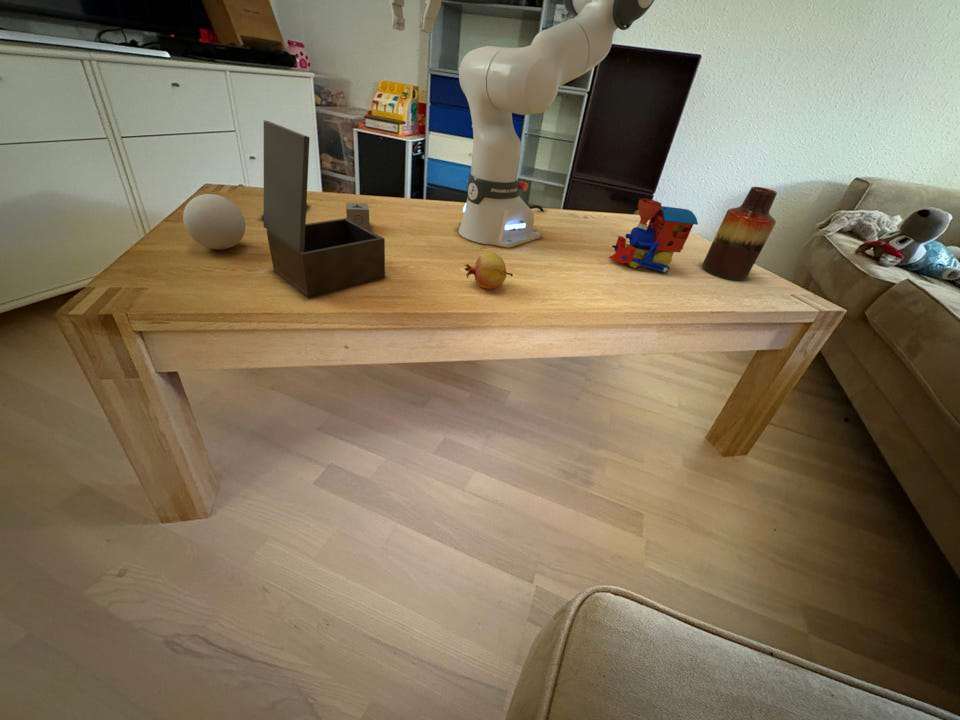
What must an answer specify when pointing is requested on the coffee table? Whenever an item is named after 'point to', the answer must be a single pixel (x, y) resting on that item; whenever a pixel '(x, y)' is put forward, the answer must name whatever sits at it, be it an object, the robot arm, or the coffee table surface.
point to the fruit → (488, 270)
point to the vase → (741, 236)
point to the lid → (285, 183)
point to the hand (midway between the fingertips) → (411, 30)
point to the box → (330, 257)
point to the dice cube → (358, 213)
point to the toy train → (655, 236)
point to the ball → (214, 221)
